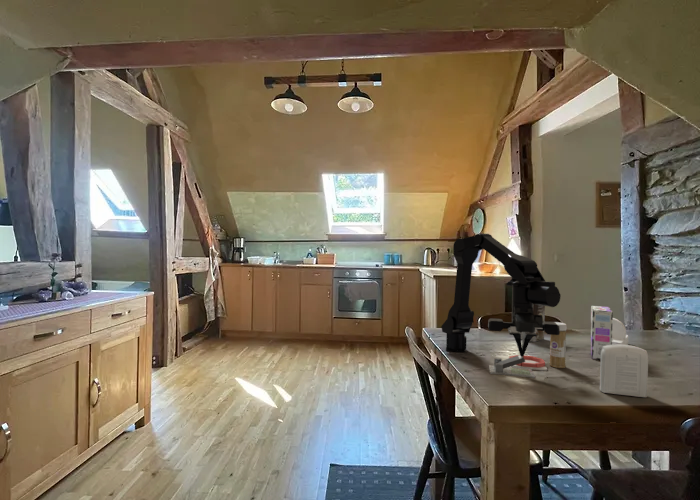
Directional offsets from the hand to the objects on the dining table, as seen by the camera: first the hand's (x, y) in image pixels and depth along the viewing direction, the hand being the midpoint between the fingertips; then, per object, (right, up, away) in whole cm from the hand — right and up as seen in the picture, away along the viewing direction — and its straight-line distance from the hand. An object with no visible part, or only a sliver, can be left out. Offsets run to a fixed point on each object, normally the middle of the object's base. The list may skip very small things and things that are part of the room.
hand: (521, 355), depth 118 cm
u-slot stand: (+49, -6, +36) cm, 61 cm away
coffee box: (+23, -5, +45) cm, 51 cm away
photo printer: (+19, -6, -16) cm, 25 cm away
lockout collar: (+5, -5, +9) cm, 12 cm away
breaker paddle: (-6, -3, +2) cm, 7 cm away
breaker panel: (-3, -5, +1) cm, 6 cm away
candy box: (+36, -6, +21) cm, 42 cm away
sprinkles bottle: (+14, -5, +7) cm, 17 cm away
